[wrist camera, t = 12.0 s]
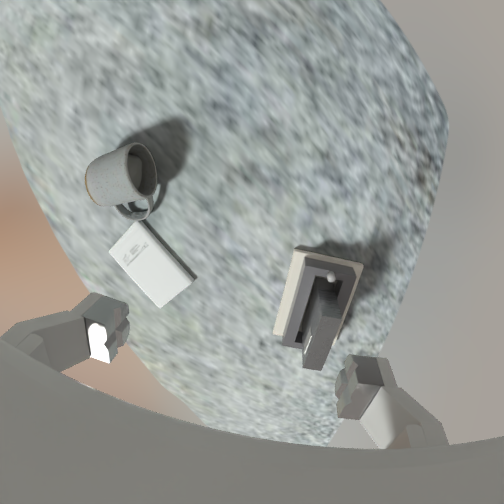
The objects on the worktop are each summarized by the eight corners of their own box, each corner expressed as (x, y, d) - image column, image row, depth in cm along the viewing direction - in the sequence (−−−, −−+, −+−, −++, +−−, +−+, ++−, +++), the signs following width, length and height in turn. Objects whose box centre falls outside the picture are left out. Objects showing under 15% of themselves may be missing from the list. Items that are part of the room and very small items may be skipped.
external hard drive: (162, 304, 48) (112, 248, 46) (195, 278, 46) (141, 217, 43) (159, 309, 47) (107, 252, 44) (192, 282, 44) (136, 220, 42)
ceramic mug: (104, 157, 40) (73, 164, 33) (150, 140, 38) (122, 143, 31) (123, 223, 44) (96, 239, 37) (169, 211, 42) (146, 227, 35)
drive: (315, 276, 42) (321, 315, 32) (332, 280, 41) (342, 319, 32) (301, 323, 45) (302, 367, 35) (316, 326, 44) (321, 370, 35)
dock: (294, 248, 42) (294, 263, 37) (362, 263, 41) (370, 279, 36) (273, 330, 47) (270, 351, 42) (333, 341, 46) (336, 362, 41)
